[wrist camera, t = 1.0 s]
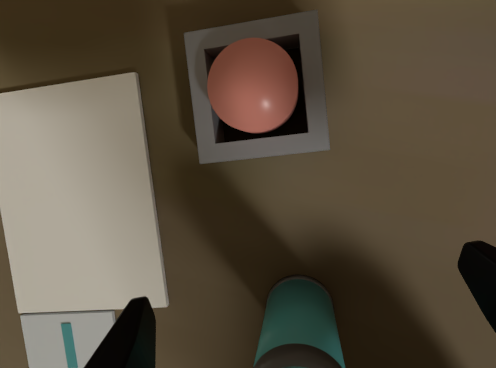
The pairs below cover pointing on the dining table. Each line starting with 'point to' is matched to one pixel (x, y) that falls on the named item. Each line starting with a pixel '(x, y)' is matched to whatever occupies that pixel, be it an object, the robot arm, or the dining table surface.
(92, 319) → the card
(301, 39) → the button housing
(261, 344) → the canister
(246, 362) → the dining table surface
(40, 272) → the paper
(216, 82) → the button
